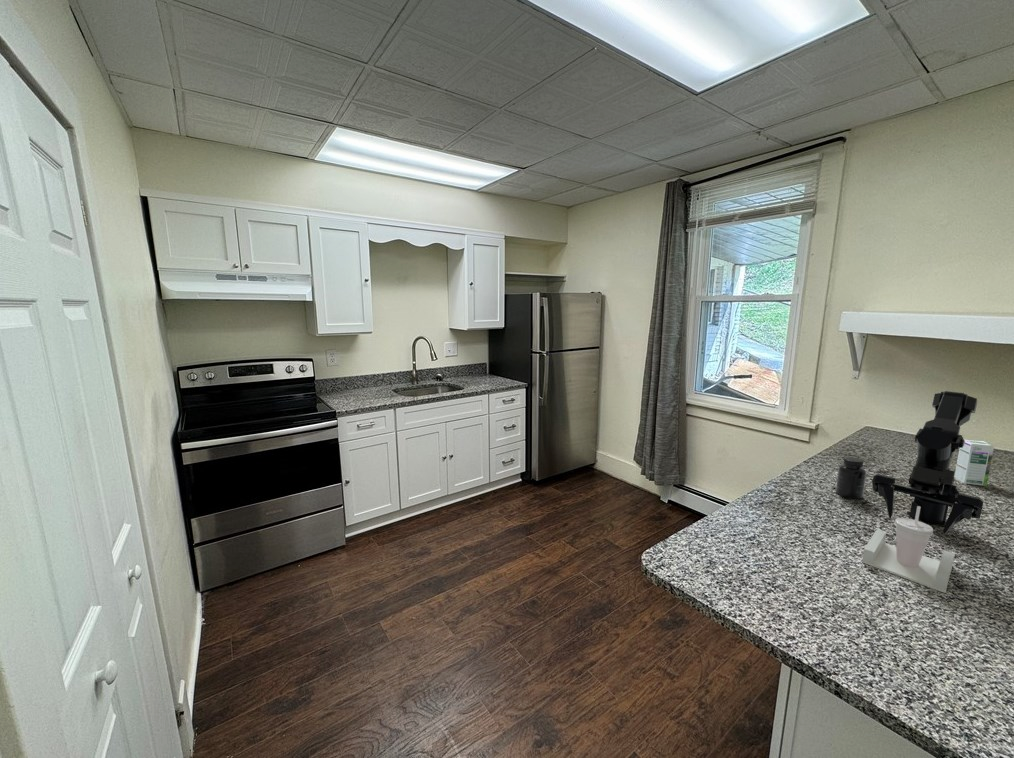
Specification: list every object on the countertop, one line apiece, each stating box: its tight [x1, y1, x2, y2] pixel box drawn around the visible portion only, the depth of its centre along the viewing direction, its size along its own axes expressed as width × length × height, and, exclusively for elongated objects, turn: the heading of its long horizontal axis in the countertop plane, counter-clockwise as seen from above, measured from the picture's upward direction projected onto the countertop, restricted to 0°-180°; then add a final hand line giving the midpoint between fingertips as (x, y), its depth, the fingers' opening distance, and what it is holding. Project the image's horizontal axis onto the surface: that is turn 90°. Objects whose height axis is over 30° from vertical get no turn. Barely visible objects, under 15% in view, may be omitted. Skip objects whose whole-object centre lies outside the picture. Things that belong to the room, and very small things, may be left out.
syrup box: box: [954, 439, 995, 487], centre depth 141 cm, size 6×6×14 cm
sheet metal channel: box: [861, 528, 956, 594], centre depth 95 cm, size 14×14×4 cm
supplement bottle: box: [835, 456, 867, 500], centre depth 131 cm, size 7×7×12 cm
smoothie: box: [894, 506, 934, 567], centre depth 94 cm, size 6×6×14 cm
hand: (915, 525), depth 97 cm, fingers open, 9 cm apart
